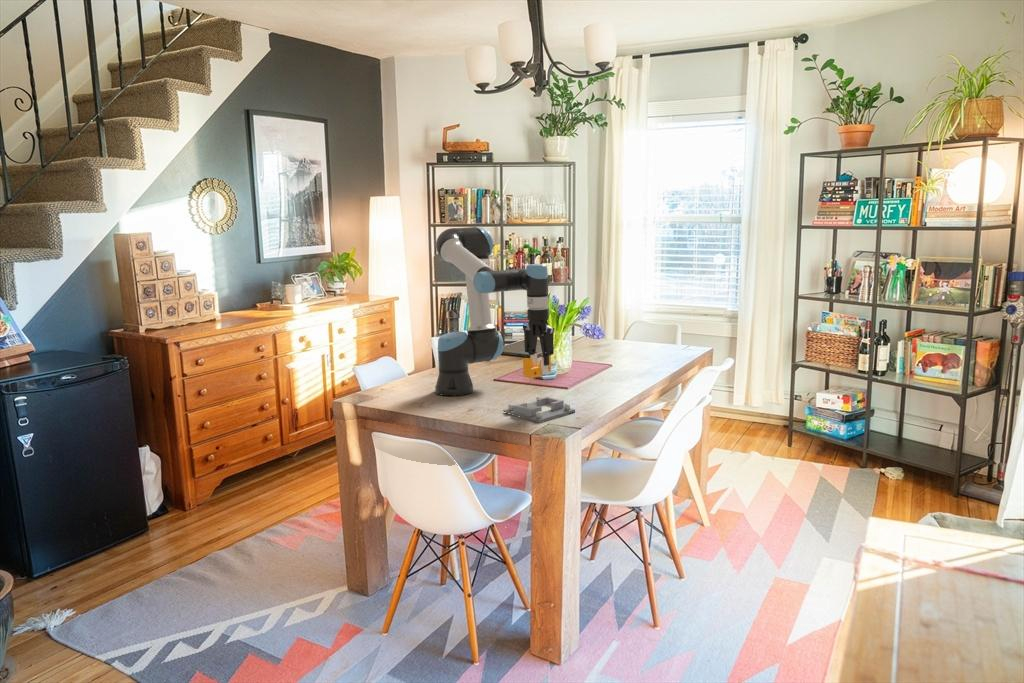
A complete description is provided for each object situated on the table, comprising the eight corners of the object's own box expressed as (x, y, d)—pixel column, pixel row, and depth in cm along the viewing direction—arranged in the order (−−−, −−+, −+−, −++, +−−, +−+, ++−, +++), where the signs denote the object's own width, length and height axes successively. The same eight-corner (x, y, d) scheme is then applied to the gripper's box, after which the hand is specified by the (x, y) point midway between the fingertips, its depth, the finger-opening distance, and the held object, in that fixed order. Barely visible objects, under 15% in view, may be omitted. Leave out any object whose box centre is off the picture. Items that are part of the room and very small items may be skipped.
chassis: (503, 412, 258) (503, 403, 257) (539, 403, 270) (539, 393, 269) (539, 423, 245) (538, 413, 244) (575, 412, 257) (575, 402, 256)
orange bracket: (532, 378, 253) (532, 359, 252) (523, 376, 256) (522, 358, 255) (554, 372, 262) (554, 354, 261) (545, 370, 265) (545, 353, 263)
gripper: (512, 307, 259) (514, 371, 263) (548, 311, 246) (550, 378, 250) (527, 305, 264) (529, 368, 268) (563, 308, 251) (565, 374, 255)
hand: (539, 373), depth 259 cm, fingers closed on orange bracket, 4 cm apart
